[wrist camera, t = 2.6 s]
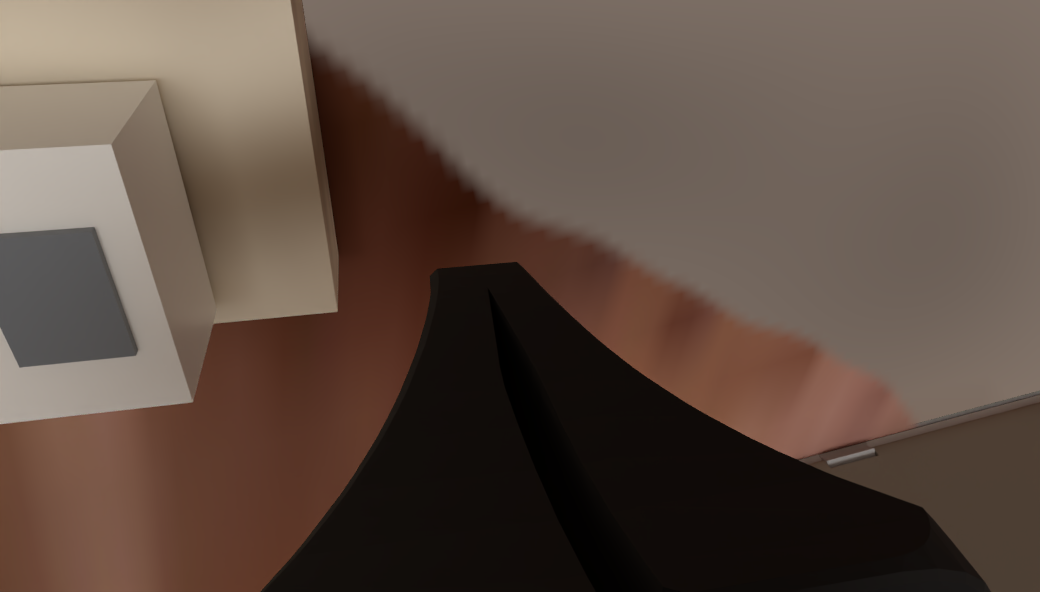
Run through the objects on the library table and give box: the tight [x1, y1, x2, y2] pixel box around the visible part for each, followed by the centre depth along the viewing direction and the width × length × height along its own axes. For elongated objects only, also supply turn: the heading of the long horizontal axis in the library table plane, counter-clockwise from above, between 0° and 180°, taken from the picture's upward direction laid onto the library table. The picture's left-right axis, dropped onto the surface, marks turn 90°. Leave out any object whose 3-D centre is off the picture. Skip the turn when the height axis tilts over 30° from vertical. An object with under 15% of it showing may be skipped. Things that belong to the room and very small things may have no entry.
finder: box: [0, 80, 217, 424], centre depth 13 cm, size 5×5×3 cm
